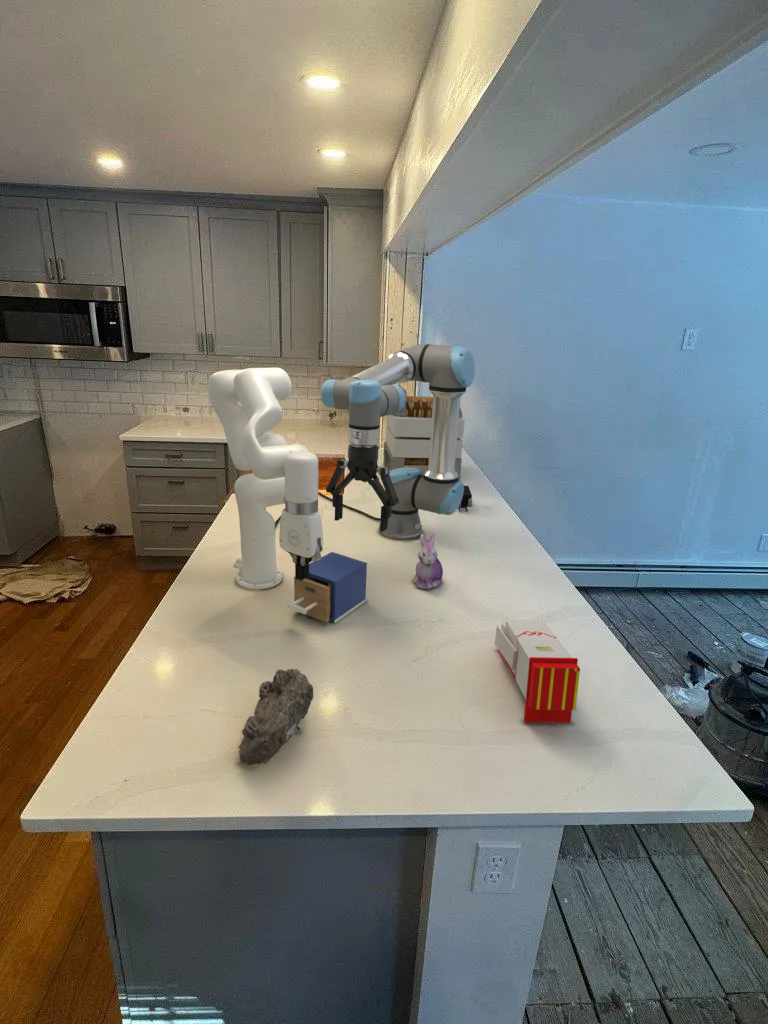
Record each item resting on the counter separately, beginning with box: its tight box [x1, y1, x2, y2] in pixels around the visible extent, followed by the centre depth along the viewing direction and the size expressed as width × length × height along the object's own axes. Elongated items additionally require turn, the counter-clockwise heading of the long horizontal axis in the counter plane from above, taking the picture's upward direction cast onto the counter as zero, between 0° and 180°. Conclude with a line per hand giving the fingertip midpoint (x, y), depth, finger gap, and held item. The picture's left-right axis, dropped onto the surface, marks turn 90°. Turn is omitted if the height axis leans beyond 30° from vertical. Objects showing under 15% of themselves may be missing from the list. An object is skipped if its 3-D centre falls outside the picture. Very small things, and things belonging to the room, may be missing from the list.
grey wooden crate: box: [383, 384, 465, 482], centre depth 268 cm, size 34×33×41 cm
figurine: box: [413, 532, 444, 590], centre depth 162 cm, size 9×10×15 cm
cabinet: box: [309, 551, 368, 624], centre depth 149 cm, size 14×12×12 cm
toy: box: [494, 619, 581, 724], centre depth 121 cm, size 12×13×30 cm
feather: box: [274, 515, 281, 529], centre depth 210 cm, size 2×28×2 cm
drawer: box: [287, 576, 332, 623], centre depth 144 cm, size 18×10×9 cm, turn 148°
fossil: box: [238, 668, 314, 766], centre depth 104 cm, size 22×10×15 cm
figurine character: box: [457, 485, 473, 512], centre depth 229 cm, size 7×8×15 cm
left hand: (302, 577), depth 136 cm, fingers closed
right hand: (360, 524), depth 147 cm, fingers open, 13 cm apart
